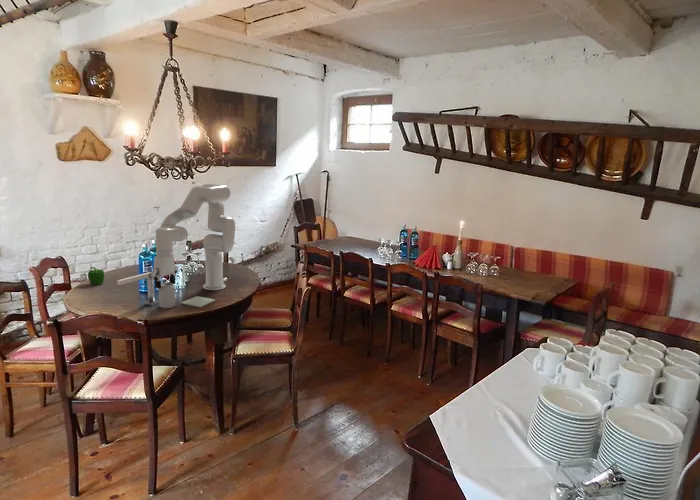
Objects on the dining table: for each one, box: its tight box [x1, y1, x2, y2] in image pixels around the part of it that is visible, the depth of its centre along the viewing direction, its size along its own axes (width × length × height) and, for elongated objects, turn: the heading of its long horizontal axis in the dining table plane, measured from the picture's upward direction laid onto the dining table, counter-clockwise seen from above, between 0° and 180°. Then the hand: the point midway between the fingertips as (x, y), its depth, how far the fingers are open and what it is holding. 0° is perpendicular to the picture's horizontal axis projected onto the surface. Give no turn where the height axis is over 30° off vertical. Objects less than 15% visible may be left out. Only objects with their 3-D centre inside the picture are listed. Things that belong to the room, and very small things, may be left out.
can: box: [158, 281, 176, 309], centre depth 228 cm, size 8×8×12 cm
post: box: [143, 277, 159, 306], centre depth 231 cm, size 5×5×14 cm
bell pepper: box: [87, 266, 105, 286], centre depth 259 cm, size 8×8×10 cm
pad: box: [181, 295, 216, 308], centre depth 238 cm, size 12×12×1 cm
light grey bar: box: [116, 271, 153, 286], centre depth 222 cm, size 20×4×2 cm, turn 154°
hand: (165, 286), depth 226 cm, fingers open, 9 cm apart
